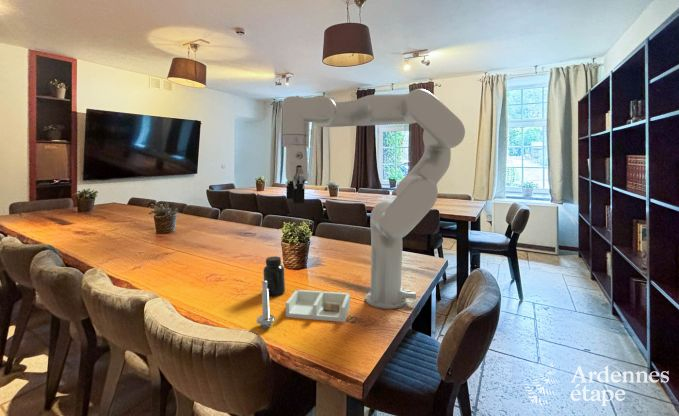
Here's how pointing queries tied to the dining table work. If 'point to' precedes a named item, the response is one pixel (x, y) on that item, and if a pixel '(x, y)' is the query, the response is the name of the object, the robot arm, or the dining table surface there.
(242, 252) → the dining table surface
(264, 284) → the screw
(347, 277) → the dining table surface
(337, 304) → the cork
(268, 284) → the supplement bottle
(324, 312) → the rack
